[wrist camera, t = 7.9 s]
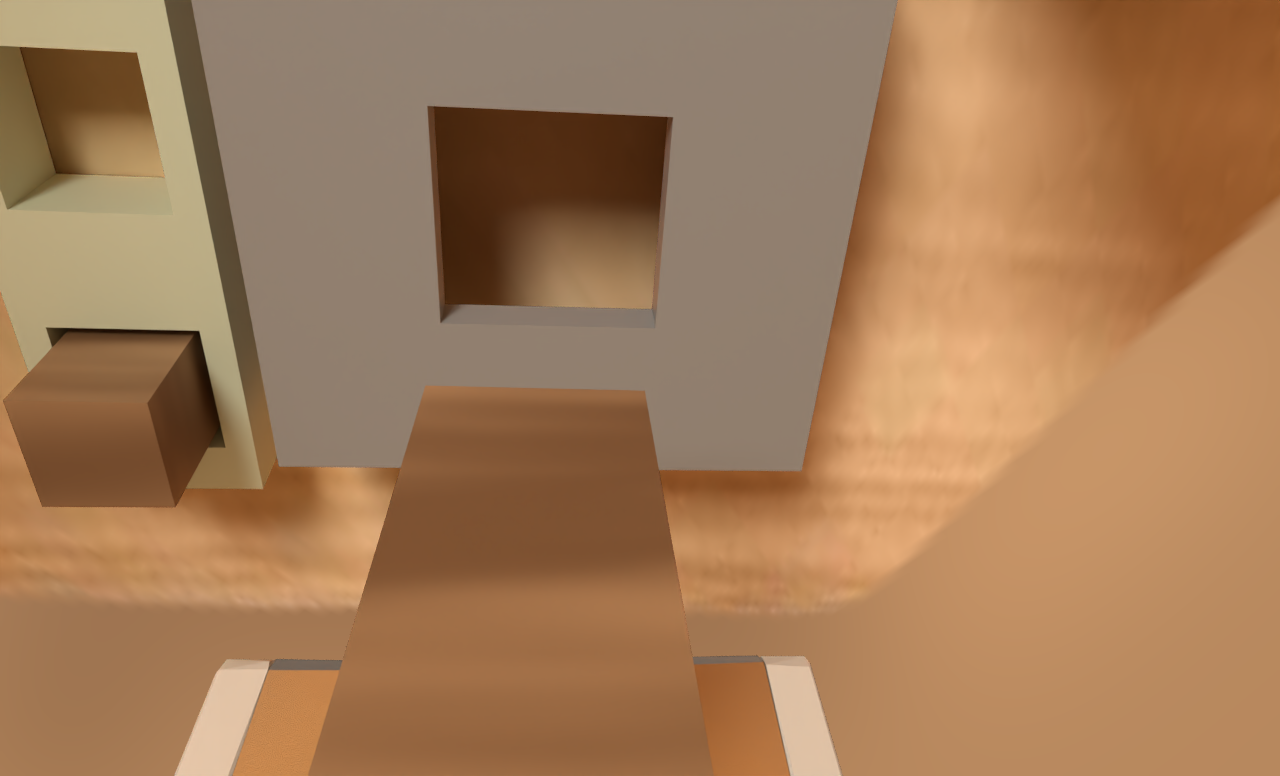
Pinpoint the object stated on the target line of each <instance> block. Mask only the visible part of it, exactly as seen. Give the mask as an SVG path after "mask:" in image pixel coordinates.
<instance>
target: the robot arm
mask: <svg viewBox="0 0 1280 776" xmlns="http://www.w3.org/2000/svg"><path fill="white" fill-rule="evenodd" d="M342 661H343V660H293V659H289V660H288V659H275V660H272V659H227V660H226V661H225V662H224V664H223V665H222V666H221V667H220V668H219V670H218V671H217V672H216V674H215V677H214V679H213V681H212V684H211V687H210V689H209V691H208V694H207V696H206V699H205V701H204V704H203V706H202V708H201V711H200V713H199V716H198V718H197V721H196V723H195V726H194V728H193V731H192V733H191V736H190V738H189V740H188V743H187V745H186V748H185V750H184V753H183V755H182V758H181V760H180V763H179V765H178V768H177V770H176V772H175V775H174V776H308V774H309V770H310V767H311V764H312V760H313V757H314V754H315V750H316V747H317V744H318V740H319V737H320V734H321V730H322V727H323V724H324V720H325V717H326V714H327V710H328V707H329V704H330V701H331V697H332V694H333V691H334V687H335V684H336V681H337V677H338V674H339V671H340V667H341V664H342ZM693 662H694V668H695V674H696V679H697V685H698V690H699V696H700V701H701V707H702V713H703V718H704V724H705V729H706V735H707V740H708V746H709V752H710V757H711V763H712V768H713V774H714V776H843V775H842V771H841V768H840V764H839V761H838V758H837V754H836V750H835V747H834V744H833V741H832V737H831V733H830V730H829V727H828V723H827V719H826V716H825V713H824V709H823V706H822V702H821V699H820V695H819V692H818V689H817V685H816V682H815V678H814V675H813V672H812V668H811V665H810V663H809V661H808V660H807V659H806V658H805V656H761V657H758V656H710V657H693Z"/></svg>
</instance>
